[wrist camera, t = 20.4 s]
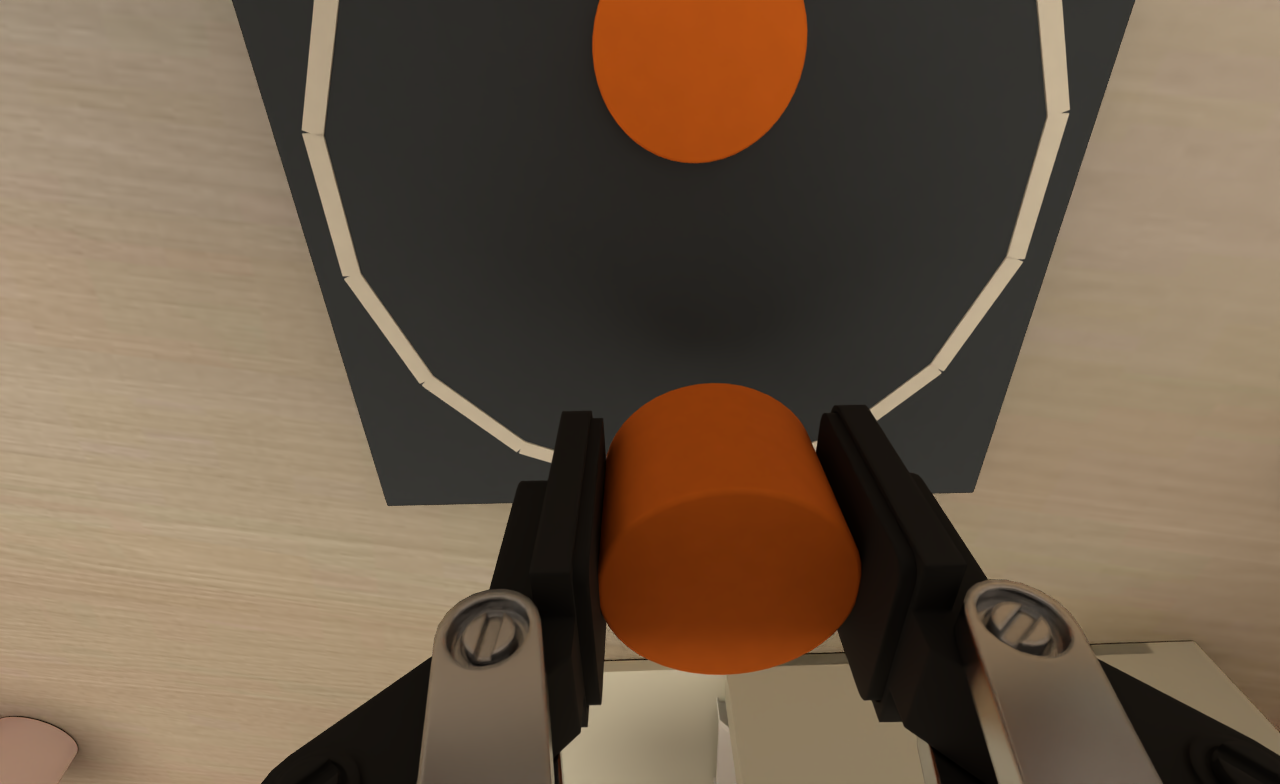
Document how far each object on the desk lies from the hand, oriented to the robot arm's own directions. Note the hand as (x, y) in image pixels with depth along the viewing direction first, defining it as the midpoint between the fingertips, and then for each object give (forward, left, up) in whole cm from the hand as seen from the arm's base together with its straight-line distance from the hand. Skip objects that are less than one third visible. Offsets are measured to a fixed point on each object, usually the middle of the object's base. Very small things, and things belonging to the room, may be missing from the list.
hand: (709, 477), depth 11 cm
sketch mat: (-4, 0, -7) cm, 8 cm away
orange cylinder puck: (-7, 0, -7) cm, 10 cm away
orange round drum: (0, 0, 0) cm, 0 cm away
